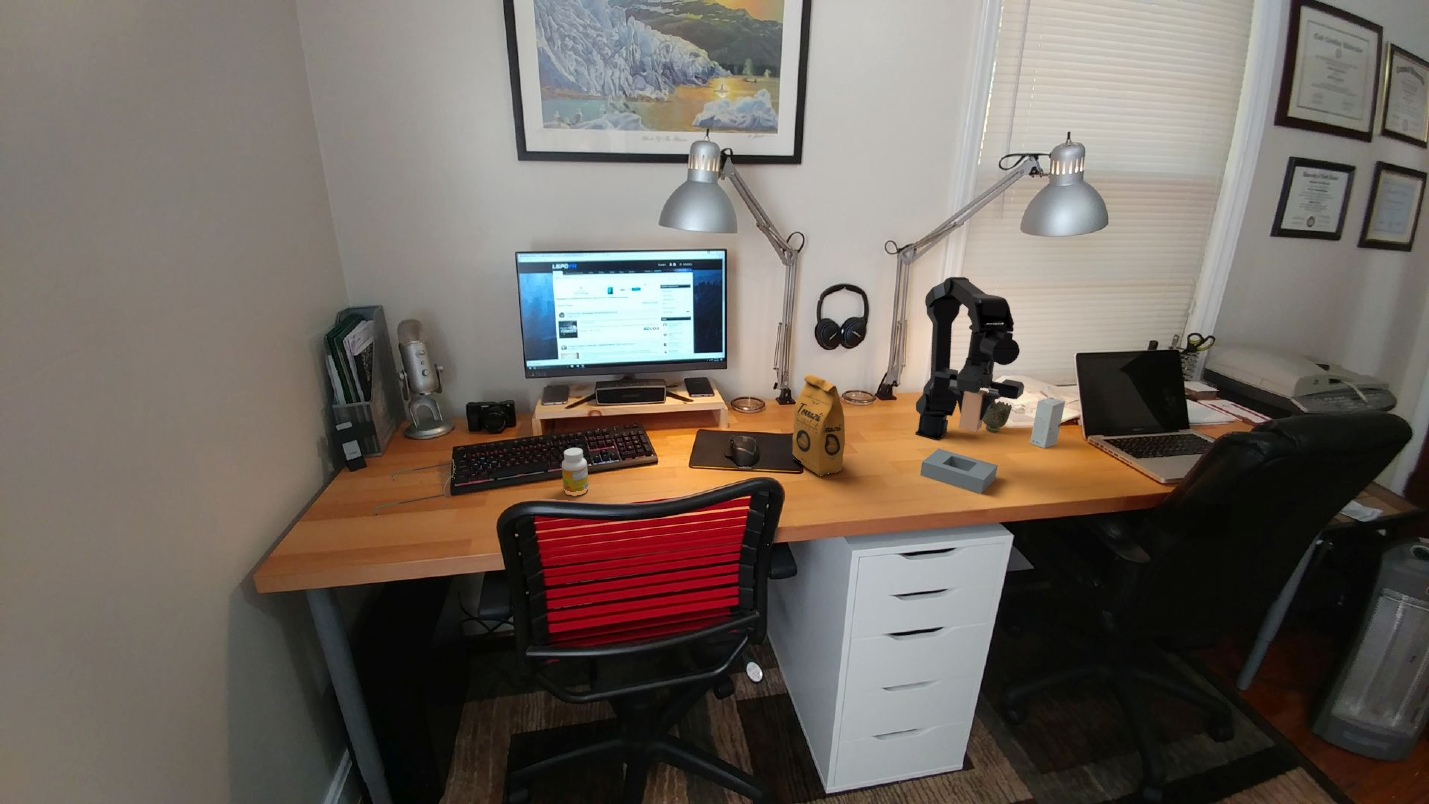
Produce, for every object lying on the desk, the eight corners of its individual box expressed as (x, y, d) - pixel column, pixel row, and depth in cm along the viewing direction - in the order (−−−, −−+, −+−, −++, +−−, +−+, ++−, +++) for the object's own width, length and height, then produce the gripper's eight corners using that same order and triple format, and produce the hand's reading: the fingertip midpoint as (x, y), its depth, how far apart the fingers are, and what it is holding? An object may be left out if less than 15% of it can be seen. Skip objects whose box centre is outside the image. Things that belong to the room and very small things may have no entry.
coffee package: (813, 480, 139) (820, 390, 131) (786, 458, 149) (791, 374, 142) (849, 472, 142) (857, 385, 135) (820, 452, 153) (826, 370, 146)
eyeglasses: (453, 507, 127) (450, 486, 125) (375, 517, 123) (370, 495, 121) (461, 474, 141) (458, 454, 139) (391, 482, 137) (388, 462, 135)
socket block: (920, 474, 142) (922, 461, 140) (936, 461, 149) (938, 448, 148) (981, 494, 133) (983, 480, 132) (995, 478, 140) (997, 465, 139)
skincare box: (1045, 449, 156) (1054, 405, 152) (1028, 443, 160) (1037, 400, 156) (1057, 443, 160) (1067, 401, 155) (1041, 438, 163) (1050, 396, 159)
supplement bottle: (561, 488, 134) (557, 449, 130) (584, 483, 136) (581, 444, 133) (568, 499, 129) (564, 458, 126) (592, 493, 132) (589, 453, 128)
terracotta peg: (958, 427, 141) (964, 391, 138) (964, 423, 144) (970, 387, 141) (976, 432, 139) (982, 395, 136) (981, 427, 142) (987, 391, 139)
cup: (984, 423, 173) (989, 397, 170) (1011, 431, 168) (1016, 404, 165) (973, 430, 168) (978, 403, 165) (1000, 438, 163) (1005, 410, 160)
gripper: (927, 352, 135) (919, 417, 140) (1016, 368, 124) (1003, 437, 129) (945, 344, 143) (937, 405, 148) (1030, 357, 132) (1017, 423, 137)
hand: (971, 417), depth 140 cm, fingers closed on terracotta peg, 4 cm apart
